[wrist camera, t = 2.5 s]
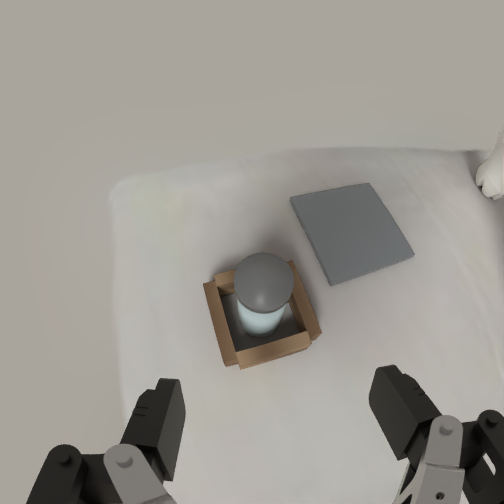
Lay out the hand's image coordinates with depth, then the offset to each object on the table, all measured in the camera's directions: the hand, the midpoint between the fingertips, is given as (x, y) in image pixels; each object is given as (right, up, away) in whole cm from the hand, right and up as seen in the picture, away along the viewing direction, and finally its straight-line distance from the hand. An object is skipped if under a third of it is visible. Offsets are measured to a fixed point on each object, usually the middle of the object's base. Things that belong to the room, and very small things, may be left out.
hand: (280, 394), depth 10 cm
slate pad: (+11, +8, +22) cm, 26 cm away
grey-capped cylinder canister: (0, -1, +17) cm, 17 cm away
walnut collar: (0, -1, +17) cm, 17 cm away
